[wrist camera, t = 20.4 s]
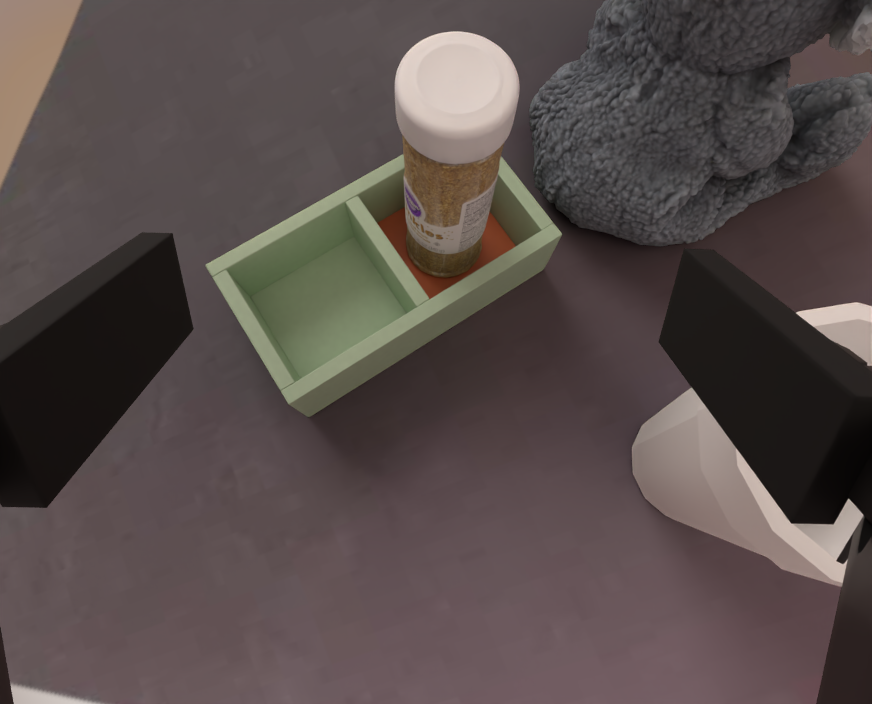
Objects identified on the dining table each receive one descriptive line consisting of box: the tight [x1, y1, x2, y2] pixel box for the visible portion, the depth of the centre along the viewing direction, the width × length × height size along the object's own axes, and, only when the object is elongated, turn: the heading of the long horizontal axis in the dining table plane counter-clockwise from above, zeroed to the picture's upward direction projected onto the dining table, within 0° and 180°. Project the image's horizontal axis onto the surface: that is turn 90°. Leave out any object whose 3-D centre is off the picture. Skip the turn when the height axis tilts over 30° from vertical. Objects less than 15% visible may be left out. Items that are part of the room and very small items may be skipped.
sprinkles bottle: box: [395, 32, 519, 278], centre depth 26 cm, size 5×5×14 cm
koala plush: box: [529, 0, 872, 246], centre depth 26 cm, size 17×18×20 cm
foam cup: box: [632, 302, 872, 587], centre depth 24 cm, size 10×9×13 cm
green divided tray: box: [206, 154, 562, 417], centre depth 30 cm, size 9×16×5 cm, turn 123°
